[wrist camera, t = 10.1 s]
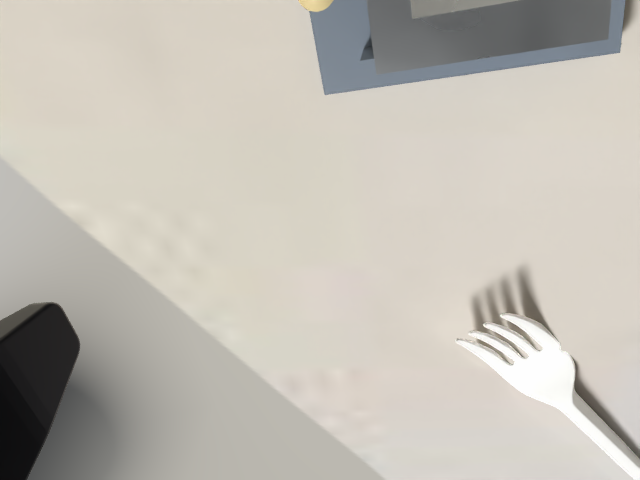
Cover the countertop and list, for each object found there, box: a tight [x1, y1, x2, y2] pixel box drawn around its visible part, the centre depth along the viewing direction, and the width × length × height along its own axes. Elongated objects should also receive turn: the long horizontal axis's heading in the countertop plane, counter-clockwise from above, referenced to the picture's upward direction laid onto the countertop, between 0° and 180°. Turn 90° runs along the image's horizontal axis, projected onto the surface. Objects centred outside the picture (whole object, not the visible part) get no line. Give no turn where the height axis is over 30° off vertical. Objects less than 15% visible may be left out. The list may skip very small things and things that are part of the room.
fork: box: [455, 313, 640, 480], centre depth 25 cm, size 3×20×2 cm, turn 45°
